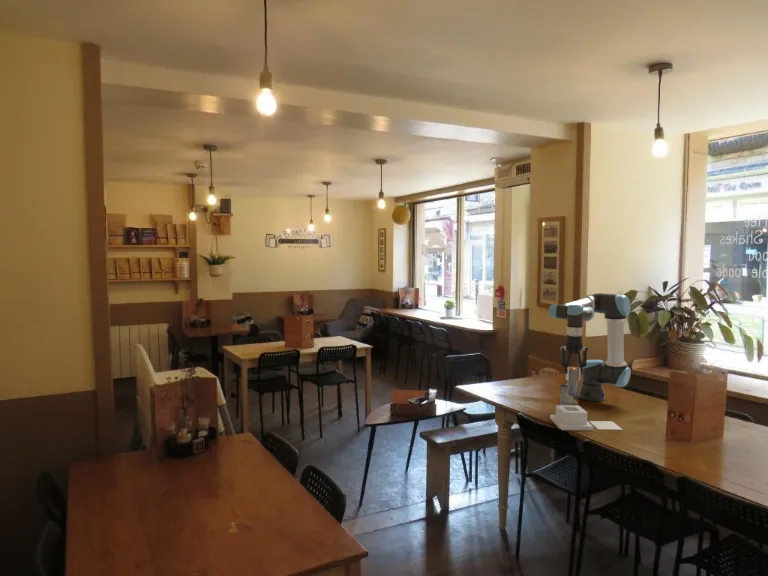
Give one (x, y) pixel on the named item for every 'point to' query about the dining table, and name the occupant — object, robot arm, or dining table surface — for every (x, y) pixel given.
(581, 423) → the housing
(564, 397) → the coffee box
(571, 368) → the copper top metal cylinder
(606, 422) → the pad
